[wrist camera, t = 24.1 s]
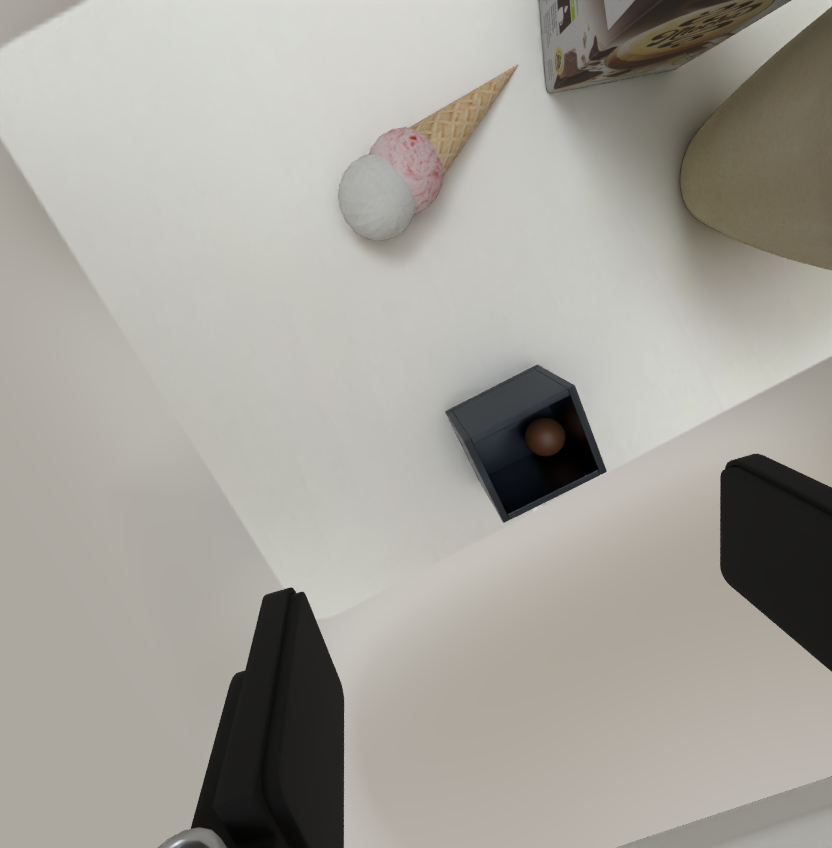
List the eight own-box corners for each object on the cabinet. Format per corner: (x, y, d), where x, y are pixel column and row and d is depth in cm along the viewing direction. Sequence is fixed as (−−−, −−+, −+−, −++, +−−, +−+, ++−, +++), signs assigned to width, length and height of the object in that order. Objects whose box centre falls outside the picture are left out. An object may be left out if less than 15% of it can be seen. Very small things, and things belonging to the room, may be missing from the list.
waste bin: (480, 482, 39) (503, 523, 33) (445, 411, 36) (463, 441, 30) (567, 438, 39) (607, 472, 33) (537, 364, 36) (574, 385, 30)
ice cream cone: (480, 26, 30) (310, 185, 28) (535, 15, 26) (345, 194, 25) (504, 103, 33) (353, 248, 32) (556, 101, 30) (390, 264, 28)
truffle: (526, 463, 36) (562, 465, 36) (538, 434, 34) (577, 436, 34) (515, 437, 38) (550, 438, 38) (526, 408, 36) (563, 410, 36)
